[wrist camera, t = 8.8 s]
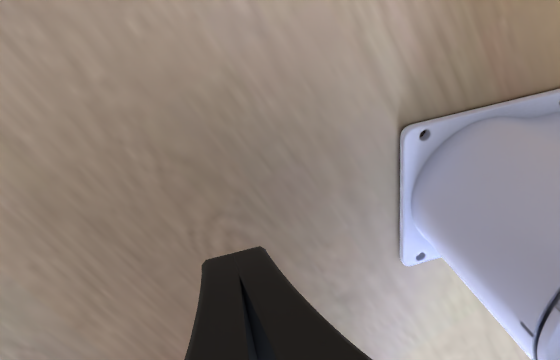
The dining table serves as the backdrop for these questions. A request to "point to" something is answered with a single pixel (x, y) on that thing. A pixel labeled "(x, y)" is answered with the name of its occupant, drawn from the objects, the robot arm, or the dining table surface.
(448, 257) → the robot arm
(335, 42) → the dining table surface
